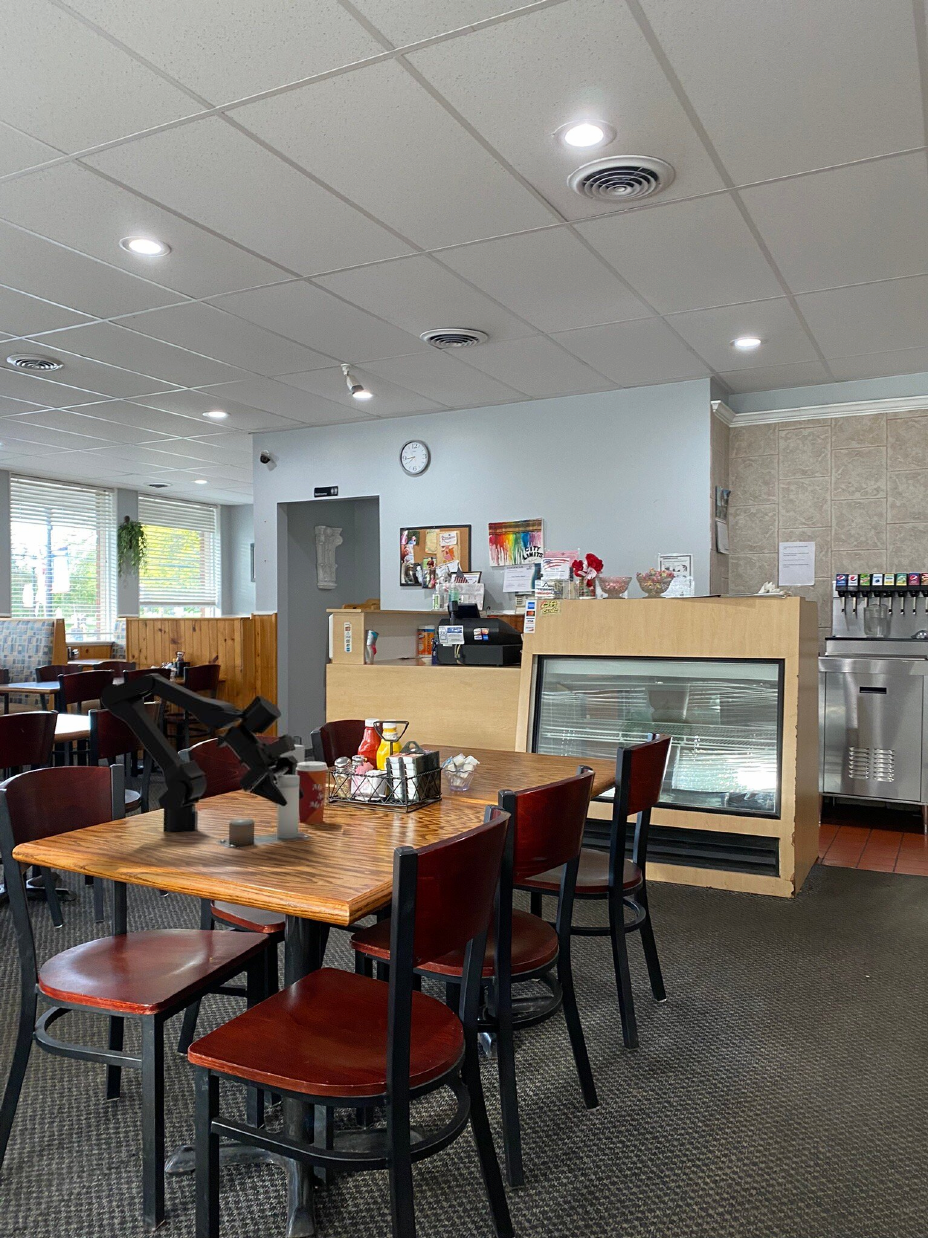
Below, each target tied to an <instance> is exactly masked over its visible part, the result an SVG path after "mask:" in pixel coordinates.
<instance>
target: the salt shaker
mask: <svg viewBox="0 0 928 1238" xmlns="http://www.w3.org/2000/svg"><path fill="white" fill-rule="evenodd" d="M277 786H278V789H279V790H280V792H281V793H282V795H283V796H284V798H285V799H286V801H287V805H286V806H281V805H279V804H277V803H276V804H277V806H276V807H277V808H276V810H277V812H276V814H277V817H276V834H277V837H278V838H282V839H290V838H296V837H298V831H299V823H300V821H299V776H298V775H281V776H278V783H277Z"/></svg>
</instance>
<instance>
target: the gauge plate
mask: <svg viewBox="0 0 928 1238" xmlns="http://www.w3.org/2000/svg"><path fill="white" fill-rule="evenodd" d="M306 839H314V837H313V836H310V835H309V834H306V833H303V832H301V831H300V830H298V837H296V838H290V839H282V838H278V837H277V833H270V834H263V835H254V843H251V844H246V845H233V844H229V839H220V840H215V842H216V843H218V844H220V845H221V846H224V847H226V848H227V849H237V848H243V847H252V846H259V845H267V844H276V843H283V842H291V841H300V840H306Z"/></svg>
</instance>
